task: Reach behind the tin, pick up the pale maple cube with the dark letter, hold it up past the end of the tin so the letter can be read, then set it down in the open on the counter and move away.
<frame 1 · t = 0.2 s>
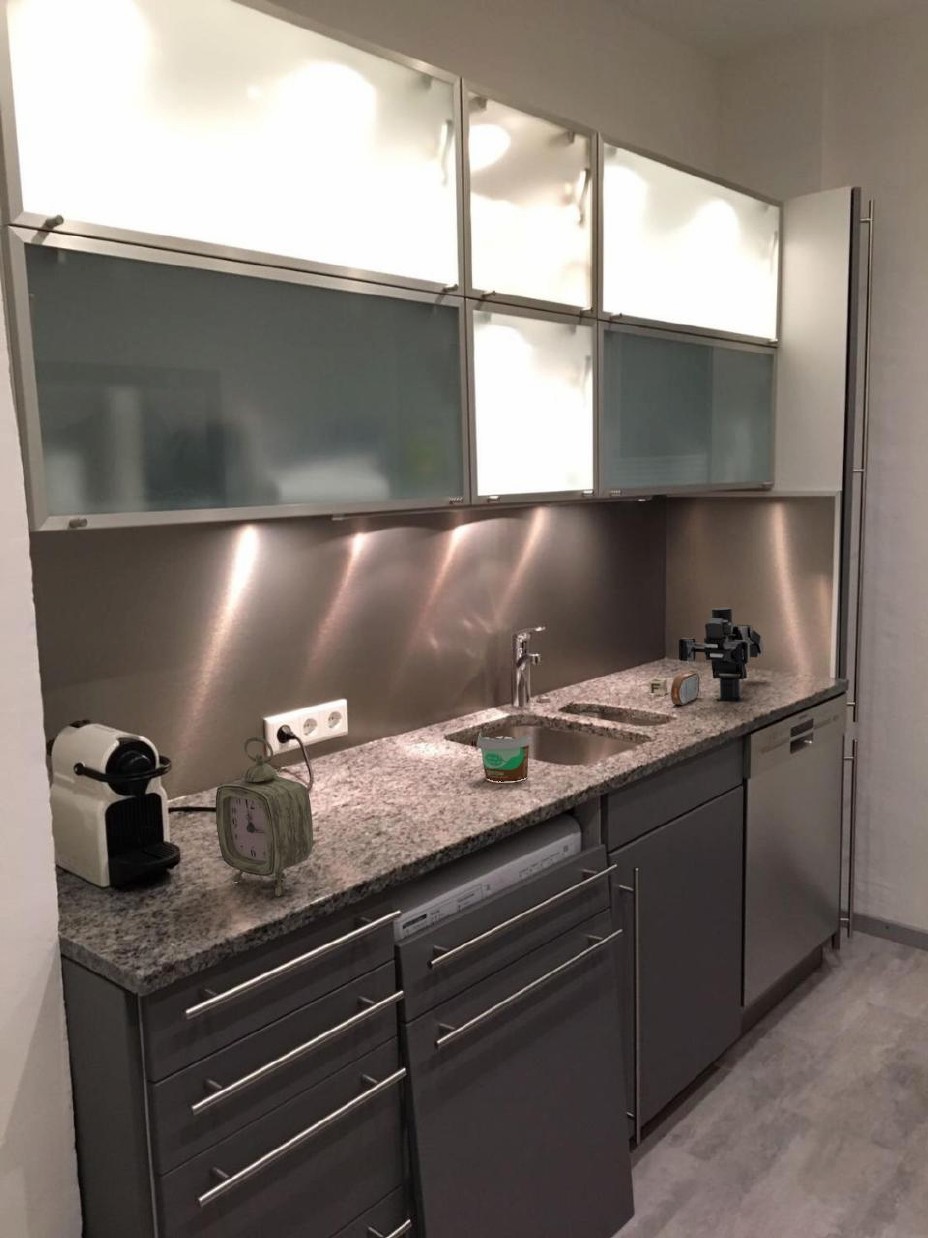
hand: (705, 656, 267), 17 cm above the table, tool horizontal, fingers open, 9 cm apart
tin: (686, 703, 290), on the table
tabletop clock: (271, 886, 167), on the table
food container: (502, 782, 220), on the table
letter cube: (658, 694, 304), on the table
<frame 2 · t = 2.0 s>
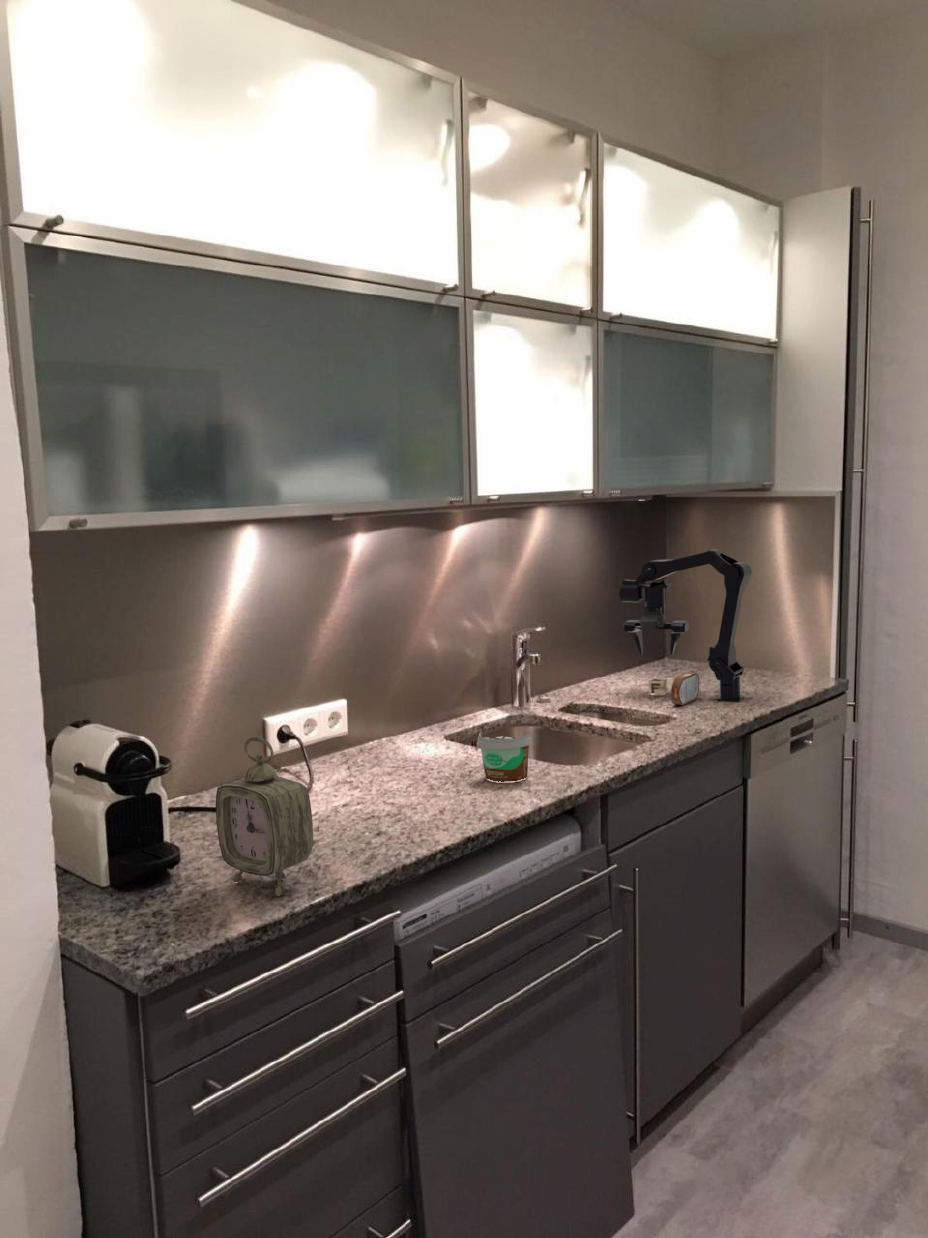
hand: (656, 654, 302), 12 cm above the table, tool pointing down, fingers open, 9 cm apart
nothing on the table moved.
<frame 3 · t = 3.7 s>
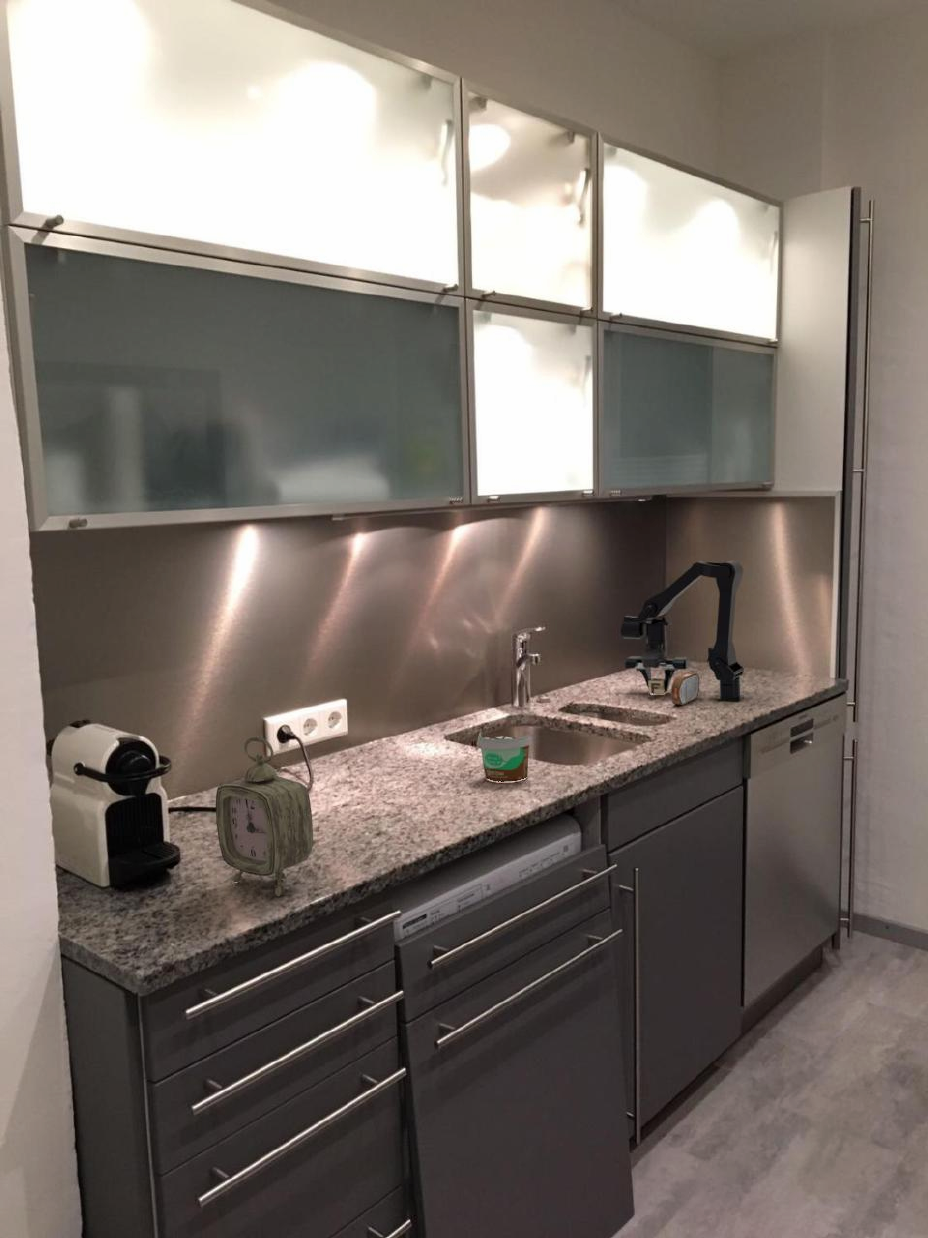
hand: (658, 690, 304), 1 cm above the table, tool pointing down, fingers closed on letter cube, 4 cm apart
letter cube: (658, 694, 304), on the table, touching gripper
everything else where it was.
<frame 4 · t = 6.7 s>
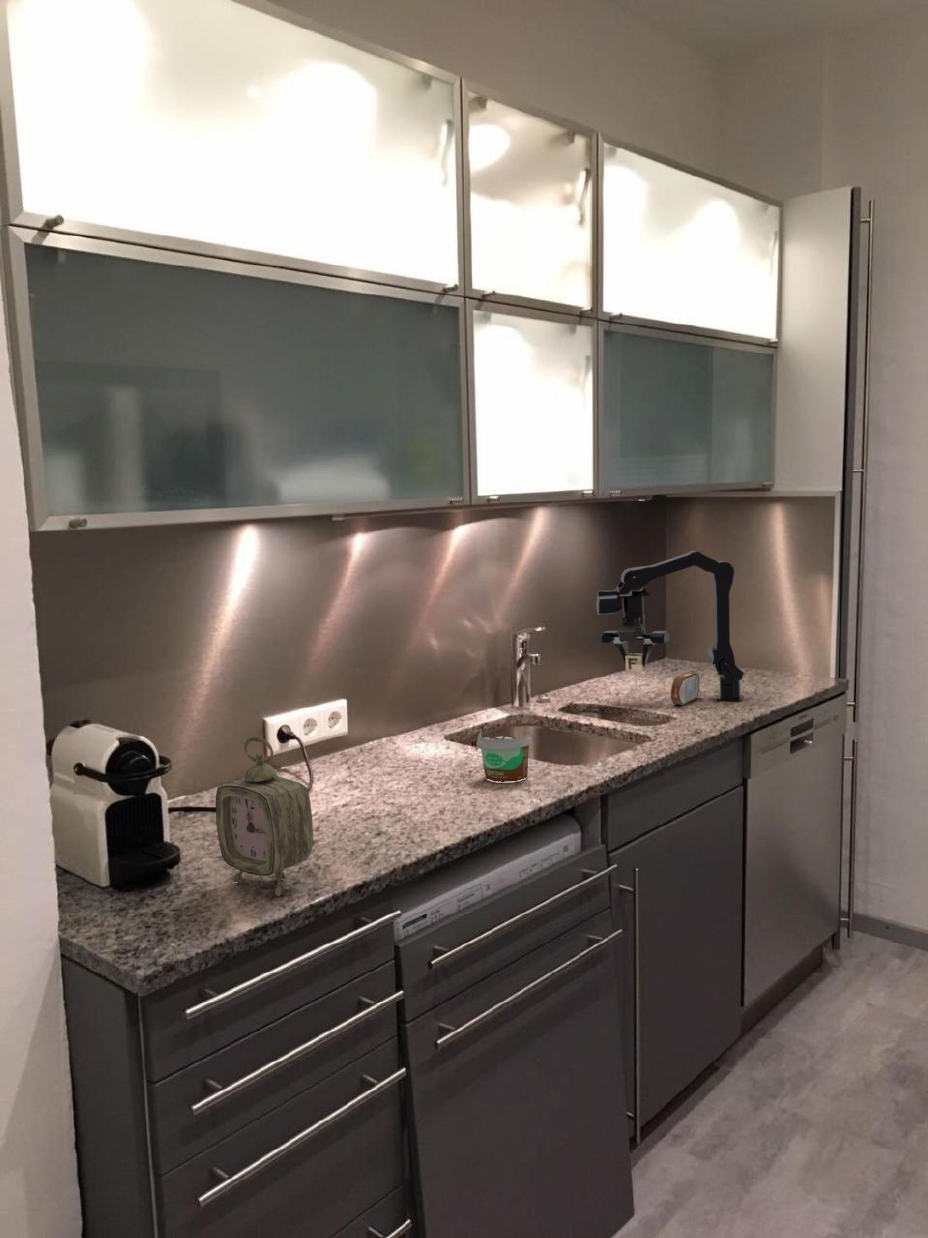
hand: (635, 666, 290), 11 cm above the table, tool pointing down, fingers closed on letter cube, 4 cm apart
letter cube: (635, 670, 291), point 10 cm above the table, touching gripper
everything else where it was.
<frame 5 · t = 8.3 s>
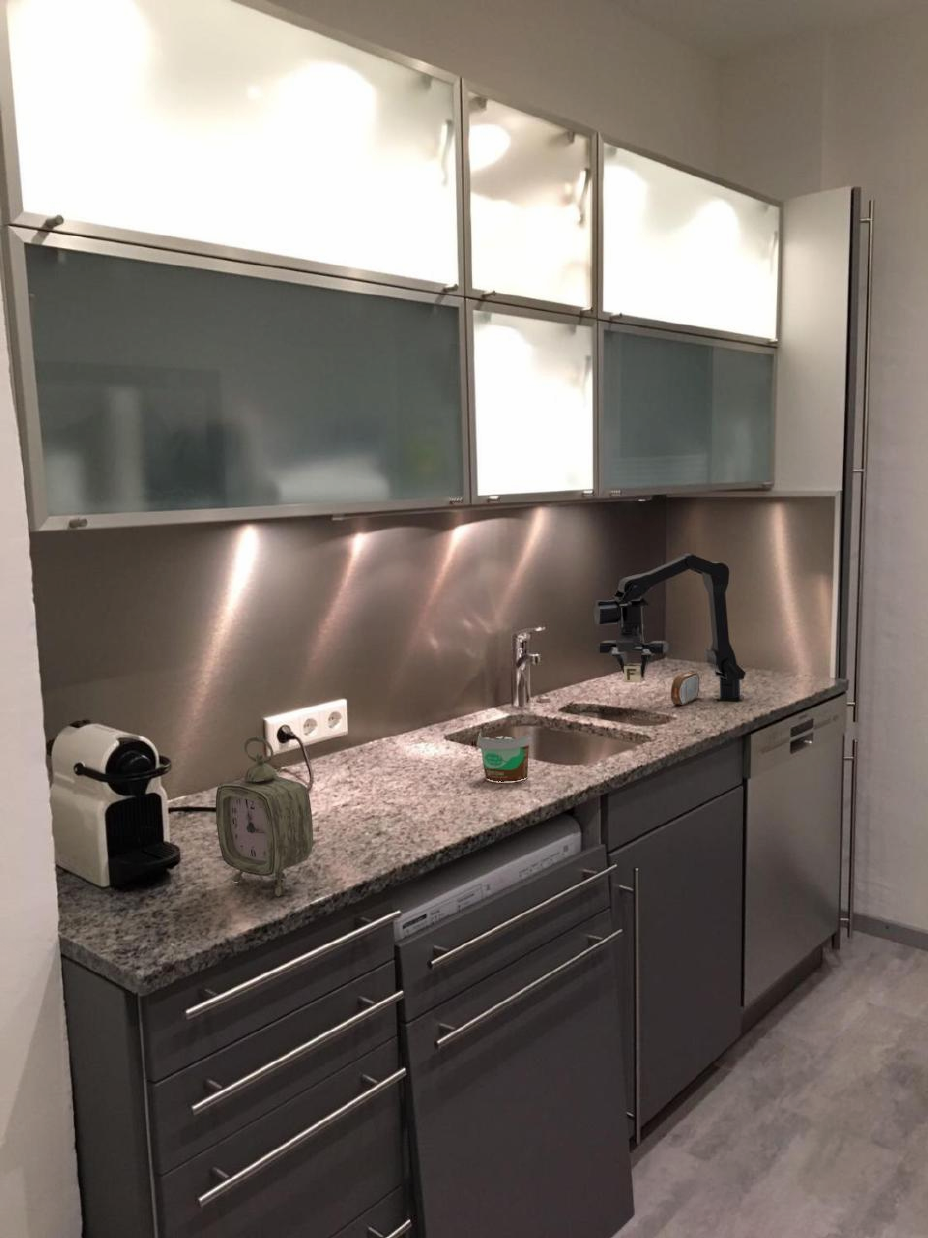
hand: (634, 677, 286), 9 cm above the table, tool pointing down, fingers closed on letter cube, 4 cm apart
letter cube: (634, 680, 286), point 8 cm above the table, touching gripper
everything else where it was.
when the fingers open (3 cm above the table, at t = 9.6 s): letter cube drops 2 cm, on the table.
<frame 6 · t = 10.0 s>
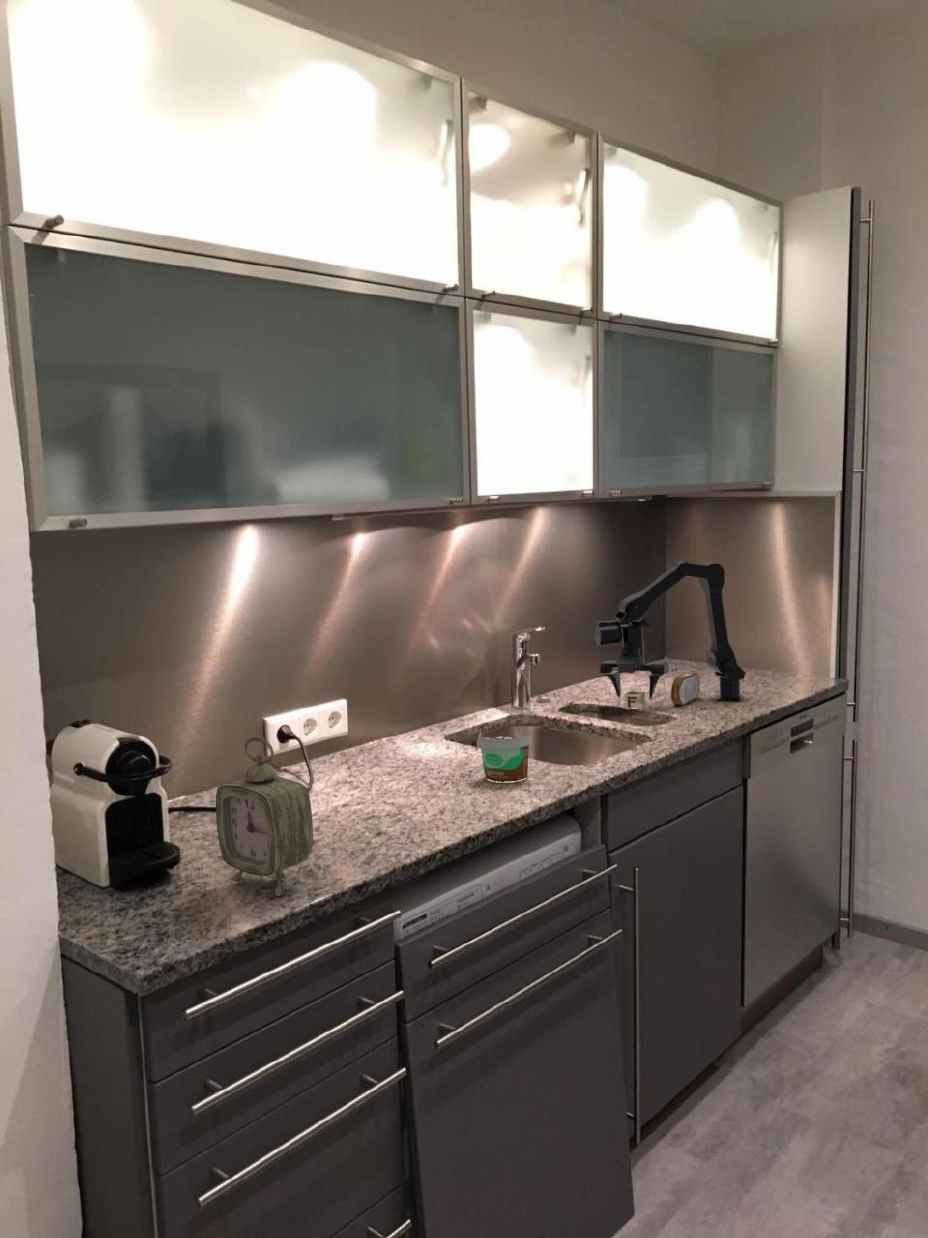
hand: (635, 697, 286), 3 cm above the table, tool pointing down, fingers open, 9 cm apart
letter cube: (635, 708, 287), on the table
everything else where it was.
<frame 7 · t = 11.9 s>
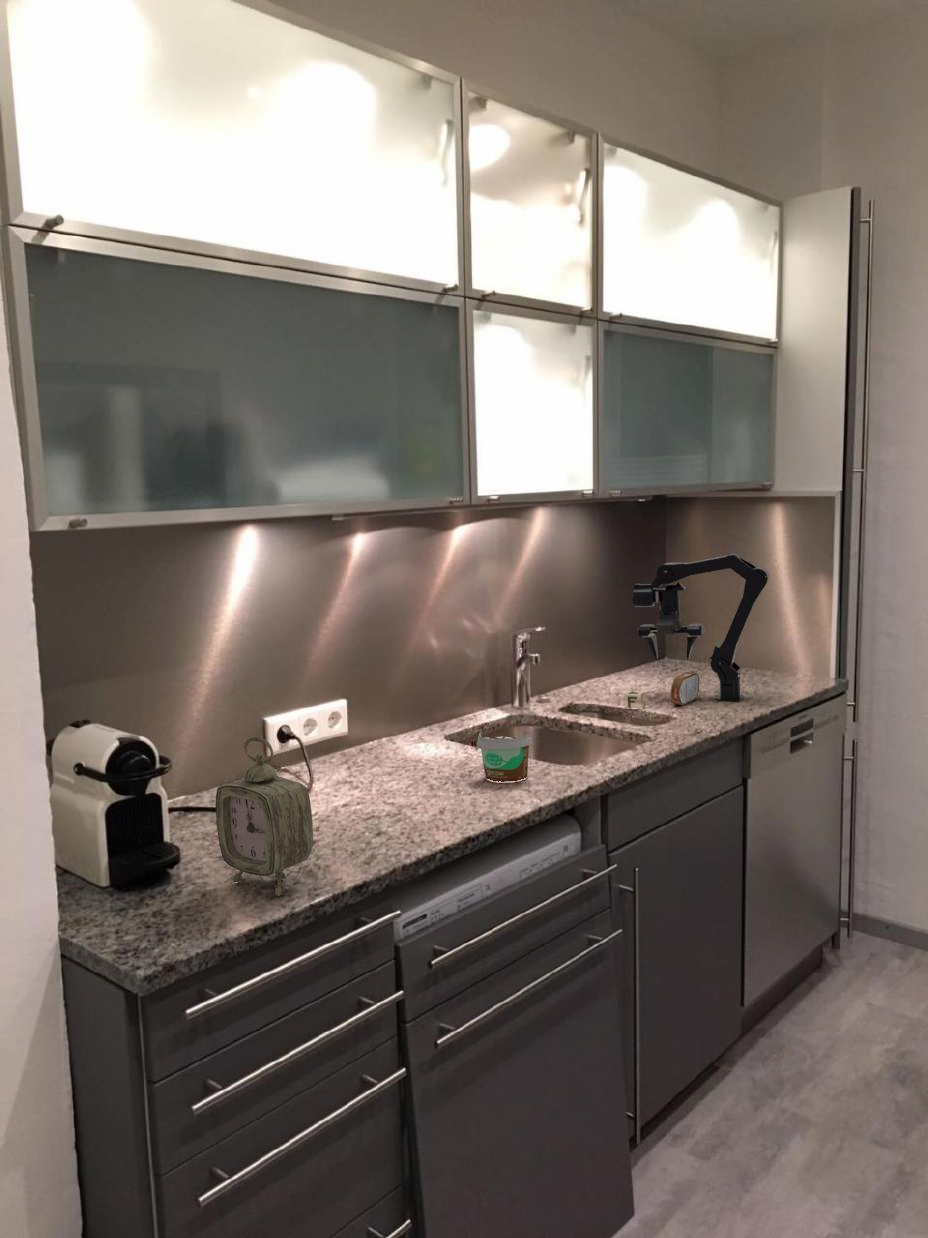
hand: (672, 659, 296), 12 cm above the table, tool pointing down, fingers open, 9 cm apart
nothing on the table moved.
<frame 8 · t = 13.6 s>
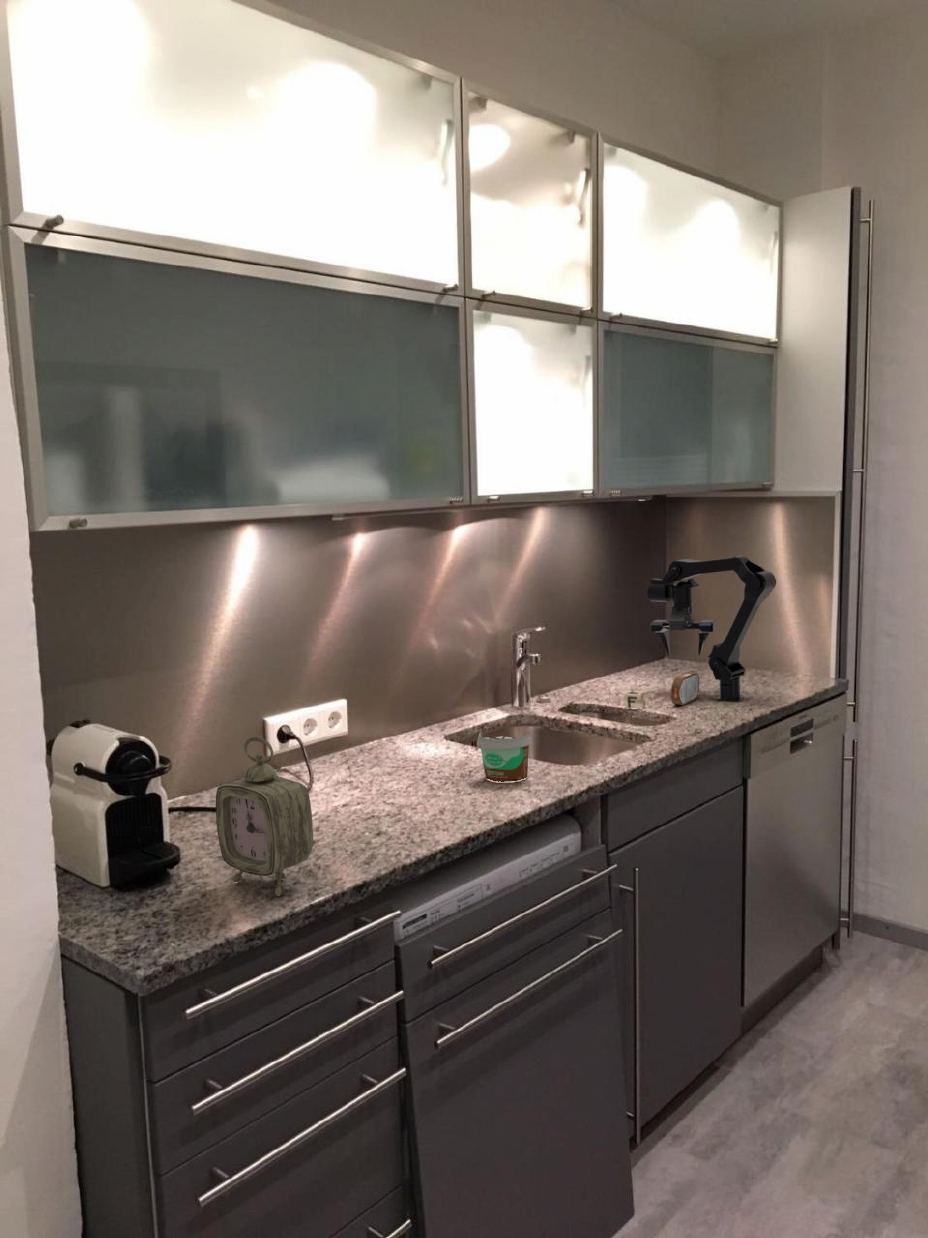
hand: (684, 654, 300), 12 cm above the table, tool pointing down, fingers open, 9 cm apart
nothing on the table moved.
at the end: letter cube inside the target area (0.1 cm from its centre), on the table; letter cube tilted 0°; tin moved 0.3 cm from its start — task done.
